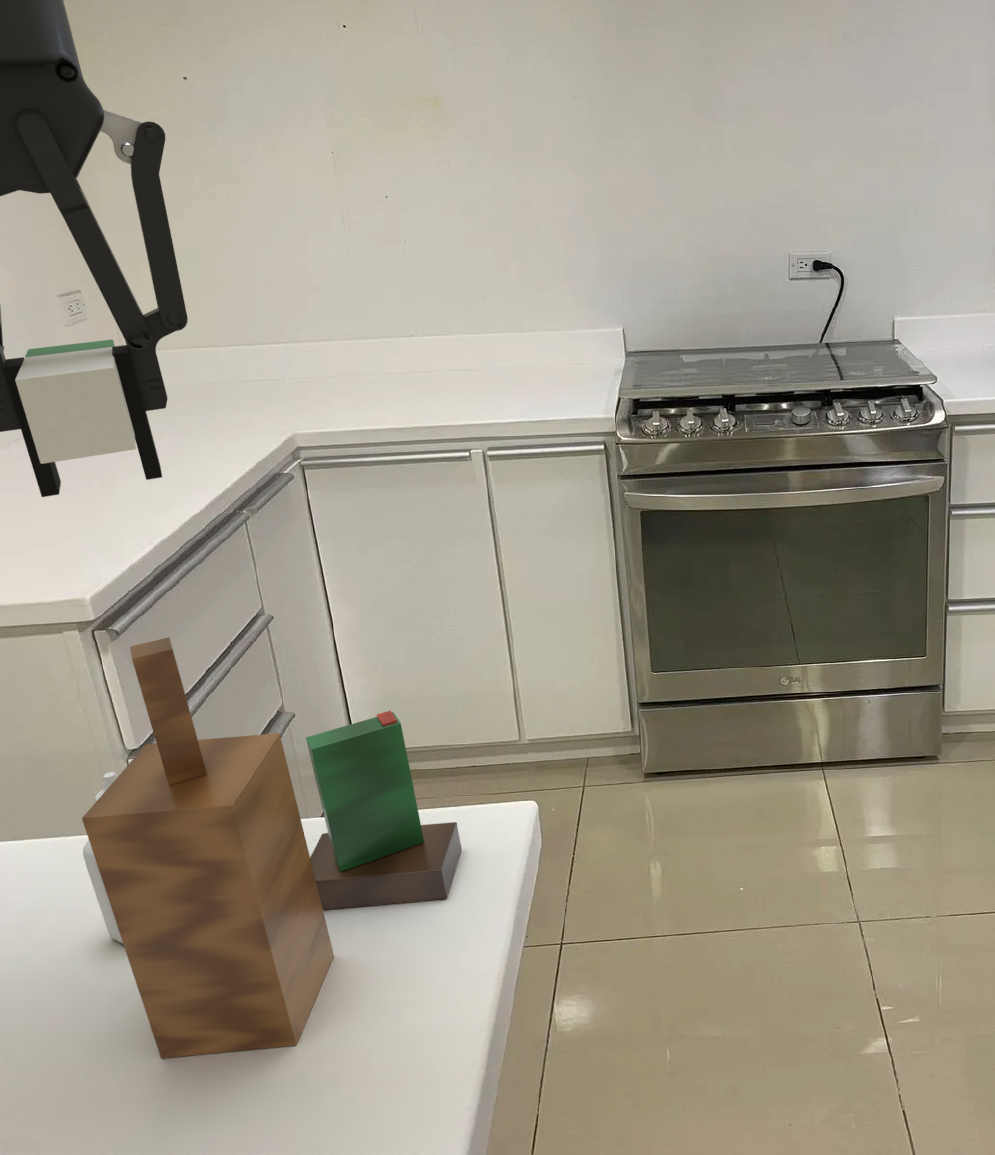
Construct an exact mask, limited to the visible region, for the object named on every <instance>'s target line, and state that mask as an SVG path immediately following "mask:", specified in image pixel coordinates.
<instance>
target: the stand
mask: <svg viewBox="0 0 995 1155" xmlns="http://www.w3.org/2000/svg"><path fill="white" fill-rule="evenodd" d="M129 651H130V656H131V660H132V665H133V668H134V670H135V675H136V677H137V681H138V685H139V688H140V692H141V695H142V699H143V703H144V705H145V708H146V712H147V715H148V720H149V723H150V726H151V729H152V732H153V737H154V739H155V742H154V743H146V744H145V745H144V746H143V747H142V748H141V749H140V750H139V752H138V753H136V755H135V756H134V757H133V759H132V760H131V761H130V762H129V763H128V765H127V766H126V767H125V768H123V770H122V771H121V773H120V774H119V775H117V778H116V779H115V781H114V782H113V783H112V784H111V785H110V786H109V788H108V789H107V790H106V791H105V792H104V793H103V794H102V796H101V797H100V798H99V799H98V800H97V801H96V802H94V804H93V805H92V806H91V807H90V808H89V809H88V810H87V812H86V813H85V814H84V815H83V816H82V817H81V821H82V823H83V827H84V829H85V832H86V835H87V838H88V840H89V841H90V844H91V848H92V851H93V854H94V857H95V860H96V863H97V866H98V869H99V872H100V875H101V878H102V881H103V884H104V887H105V890H106V893H107V896H108V899H109V902H110V905H111V908H112V911H113V914H114V917H115V920H116V923H117V926H118V929H119V932H120V935H121V938H122V941H123V943H122V944H123V947H124V950H125V953H126V957H127V959H128V962H129V966H130V969H131V972H132V975H133V977H134V981H135V984H136V987H137V990H138V993H139V996H140V999H141V1002H142V1005H143V1008H144V1011H145V1014H146V1017H147V1020H148V1023H149V1026H150V1029H151V1032H152V1035H153V1038H154V1041H155V1044H156V1047H157V1050H158V1053H159V1056H160V1058H161V1059H166V1058H167V1059H168V1058H177V1057H188V1056H198V1055H208V1054H218V1053H227V1052H228V1053H230V1052H239V1051H251V1050H261V1049H271V1048H281V1047H293V1046H294V1047H295V1046H297V1045H298V1043H299V1040H300V1038H301V1035H302V1032H303V1030H304V1028H305V1026H306V1024H307V1021H308V1018H309V1016H310V1014H311V1011H312V1009H313V1006H314V1005H315V1002H316V999H317V997H318V994H319V993H320V990H321V987H322V985H323V983H324V980H325V978H326V976H327V973H328V970H329V969H330V967H331V966H330V965H331V963H332V962H333V959H334V956H335V954H334V949H333V946H332V942H331V937H330V934H329V930H328V926H327V920H326V917H325V913H324V910H323V909H322V905H321V900H320V896H319V892H318V888H317V884H316V880H315V876H314V872H313V868H312V864H311V860H310V857H311V855H310V852H309V848H308V843H307V839H306V835H305V831H304V827H303V823H302V819H301V815H300V810H299V807H298V802H297V798H296V796H295V795H296V794H295V790H294V786H293V783H292V777H291V774H290V770H289V766H288V762H287V758H286V753H285V749H284V746H283V741H282V737H281V734H280V733H277V732H275V733H265V734H253V735H252V734H251V735H242V736H241V735H240V736H239V735H238V736H229V737H226V736H225V737H216V738H202V739H198V736H197V732H196V728H195V725H194V720H193V717H192V713H191V711H190V706H189V702H188V699H187V696H186V692H185V688H184V685H183V681H182V678H181V674H180V670H179V666H178V663H177V659H176V655H175V652H174V648H173V644H172V642H171V638H170V637H164V638H160V639H156V640H151V641H148V642H144V643H139V644H135V645H130V646H129Z"/></svg>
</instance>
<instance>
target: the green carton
mask: <svg viewBox="0 0 995 1155" xmlns="http://www.w3.org/2000/svg"><path fill="white" fill-rule="evenodd" d="M305 740H306V746H307V750H308V753H309V757H310V762H311V766H312V770H313V773H314V779H315V784H316V787H317V792H318V795H319V801H320V804H321V808H322V812H323V817H324V822H325V825H326V826H325V827H326V830H327V833H328V834H329V839H330V843H331V847H332V851H333V856H334V859H335V861H336V864H337V866H338V868H339V870H340V872H341V871H344V870H347V869H350V868H353V867H356V866H358V865H361V864H364V863H367V862H370V861H373V860H376V859H378V858H381V857H384V856H387V855H390V854H393V853H396V852H398V851H401V850H404V849H407V848H410V847H413V846H416V845H418V844H421V843H424V838H423V833H422V828H421V825H422V823H421V819H420V814H419V808H418V803H417V797H416V793H415V788H414V783H413V778H412V773H411V767H410V762H409V757H408V752H407V747H406V743H405V738H404V733H403V727H402V723H401V721H400V719H399V718H398V716H397V715H396V714H395V712H392V711H391V710H387V711H384V712H380V713H377V714H376V716H374V717H371V718H368V719H365V720H361V721H357V722H353V723H351V724H347V725H343V726H340V727H337V728H333V729H331V730H327V731H323V732H319V733H316V734H313V735H310V736H306V737H305Z"/></svg>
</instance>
